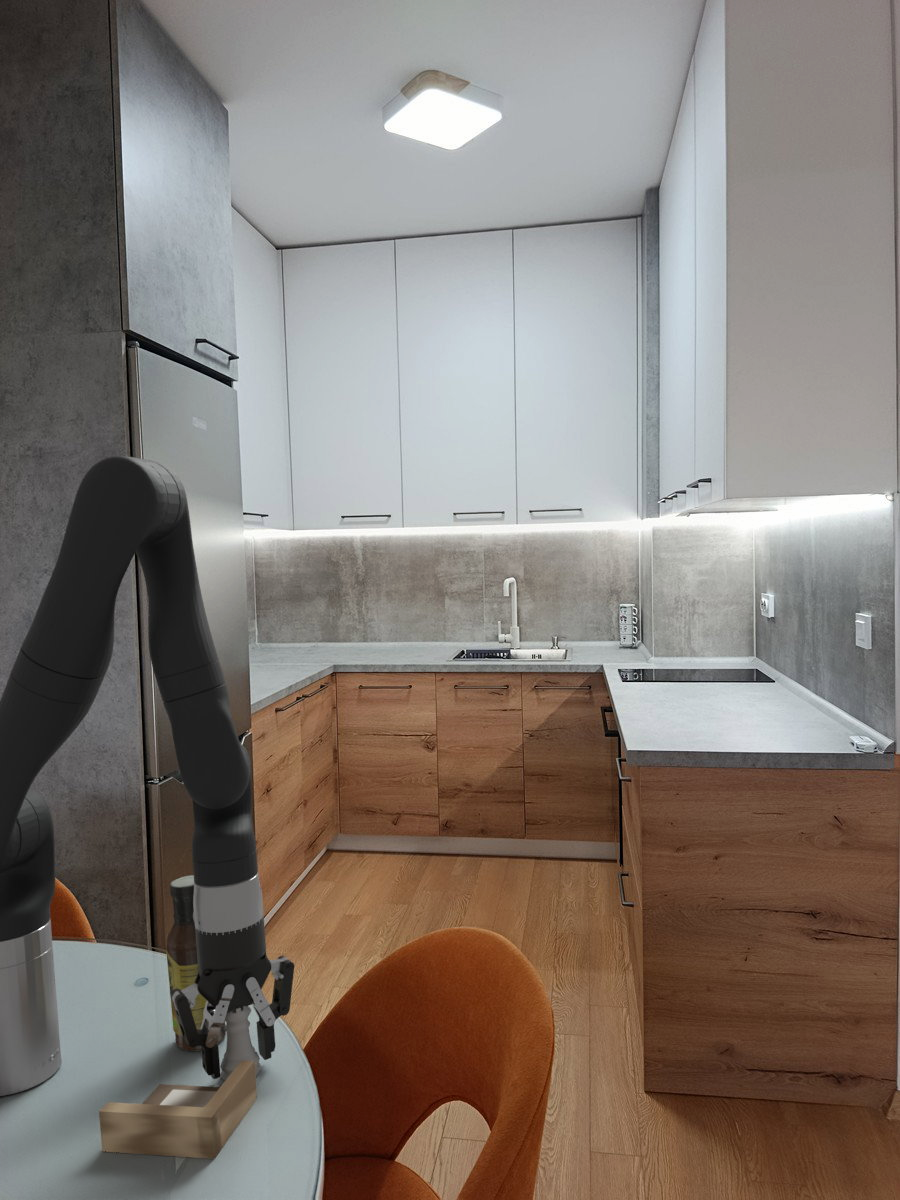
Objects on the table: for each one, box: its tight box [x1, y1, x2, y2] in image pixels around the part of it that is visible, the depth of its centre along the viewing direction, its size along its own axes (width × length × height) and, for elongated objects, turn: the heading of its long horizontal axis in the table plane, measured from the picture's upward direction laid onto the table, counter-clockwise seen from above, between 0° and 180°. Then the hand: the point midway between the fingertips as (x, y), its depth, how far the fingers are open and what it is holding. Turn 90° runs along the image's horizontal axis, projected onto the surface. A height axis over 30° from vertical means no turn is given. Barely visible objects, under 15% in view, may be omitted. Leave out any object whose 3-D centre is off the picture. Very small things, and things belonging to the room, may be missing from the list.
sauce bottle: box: [165, 874, 227, 1052], centre depth 105 cm, size 6×6×20 cm
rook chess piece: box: [220, 1005, 262, 1082], centre depth 97 cm, size 4×4×8 cm
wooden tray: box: [98, 1061, 258, 1160], centre depth 89 cm, size 12×11×4 cm
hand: (240, 1065), depth 97 cm, fingers open, 5 cm apart
